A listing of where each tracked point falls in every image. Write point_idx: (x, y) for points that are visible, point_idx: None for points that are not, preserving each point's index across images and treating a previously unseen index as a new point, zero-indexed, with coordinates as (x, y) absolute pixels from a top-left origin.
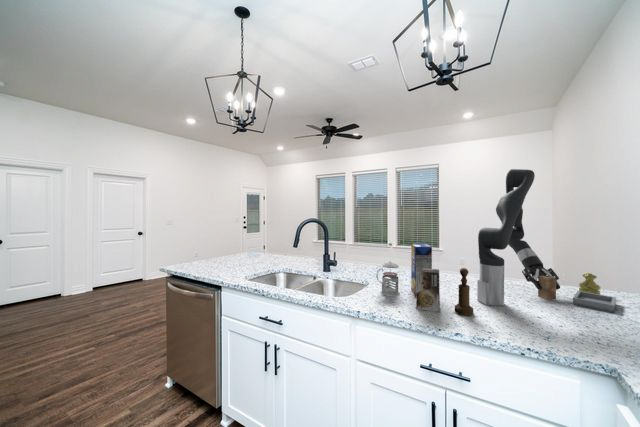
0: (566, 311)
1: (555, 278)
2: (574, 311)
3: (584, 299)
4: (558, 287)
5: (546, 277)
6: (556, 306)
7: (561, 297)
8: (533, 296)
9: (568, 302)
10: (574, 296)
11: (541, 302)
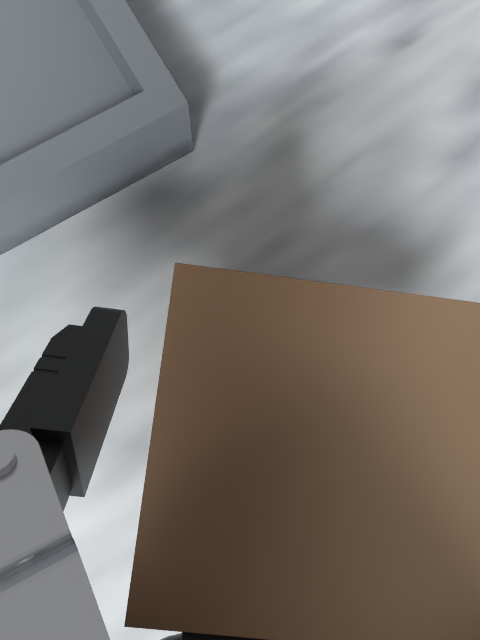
0: (454, 23)
1: (204, 268)
2: (378, 7)
3: (106, 23)
4: (125, 317)
5: (443, 370)
6: (420, 144)
7: None
8: None
9: (159, 218)
10: (99, 142)
11: (464, 271)
